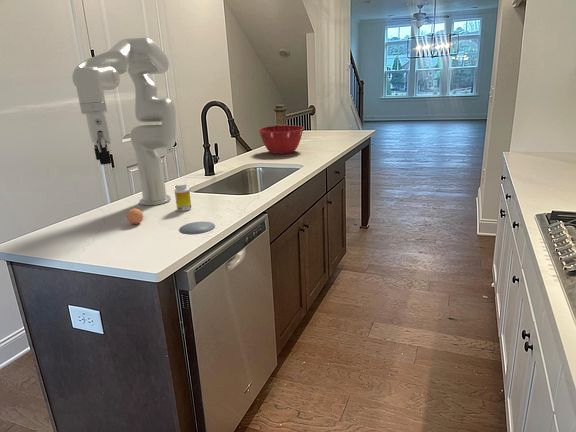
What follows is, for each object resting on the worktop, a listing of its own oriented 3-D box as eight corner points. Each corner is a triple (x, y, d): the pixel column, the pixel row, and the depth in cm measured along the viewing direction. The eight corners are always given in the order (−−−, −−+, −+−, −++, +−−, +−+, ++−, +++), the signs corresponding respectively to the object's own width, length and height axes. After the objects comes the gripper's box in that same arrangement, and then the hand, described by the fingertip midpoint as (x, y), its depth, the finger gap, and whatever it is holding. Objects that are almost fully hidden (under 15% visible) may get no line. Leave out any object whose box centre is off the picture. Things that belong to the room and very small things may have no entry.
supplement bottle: (193, 209, 171) (190, 184, 168) (179, 212, 169) (175, 186, 165) (189, 206, 176) (185, 181, 173) (175, 209, 173) (171, 183, 170)
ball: (130, 221, 161) (128, 206, 159) (146, 220, 161) (143, 206, 159) (125, 226, 156) (123, 211, 154) (141, 225, 156) (139, 210, 154)
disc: (183, 223, 156) (183, 222, 156) (217, 221, 156) (216, 220, 156) (175, 235, 145) (175, 234, 145) (212, 233, 145) (212, 232, 145)
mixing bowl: (313, 152, 276) (312, 127, 271) (273, 158, 262) (271, 132, 258) (290, 147, 299) (289, 124, 294) (252, 152, 286) (250, 128, 281)
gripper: (110, 108, 133) (120, 164, 138) (102, 105, 147) (111, 156, 153) (83, 110, 130) (94, 167, 135) (78, 107, 144) (88, 159, 149)
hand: (103, 161), depth 144 cm, fingers open, 9 cm apart
